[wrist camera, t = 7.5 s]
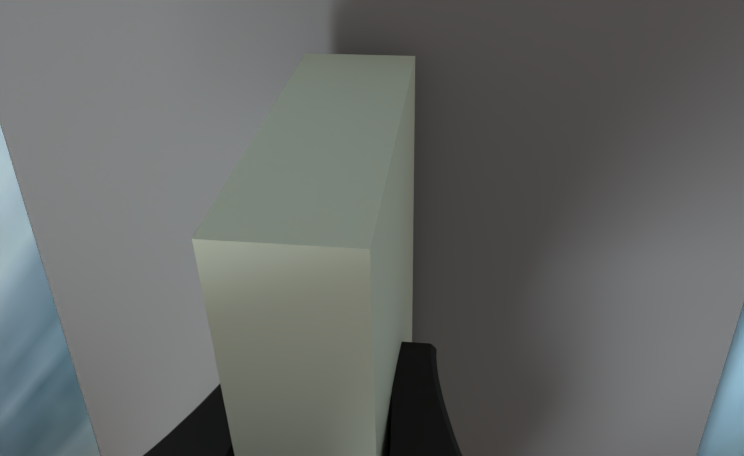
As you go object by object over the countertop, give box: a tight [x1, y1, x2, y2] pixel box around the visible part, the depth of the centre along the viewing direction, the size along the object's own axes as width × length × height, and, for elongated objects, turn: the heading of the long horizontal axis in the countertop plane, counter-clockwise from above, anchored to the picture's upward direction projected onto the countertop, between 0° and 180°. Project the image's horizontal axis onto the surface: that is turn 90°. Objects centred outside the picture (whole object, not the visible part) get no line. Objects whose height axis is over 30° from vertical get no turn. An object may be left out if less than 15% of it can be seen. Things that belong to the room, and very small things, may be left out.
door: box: [192, 53, 415, 456], centre depth 14 cm, size 14×4×6 cm, turn 1°
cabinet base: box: [0, 0, 744, 456], centre depth 15 cm, size 20×16×7 cm
